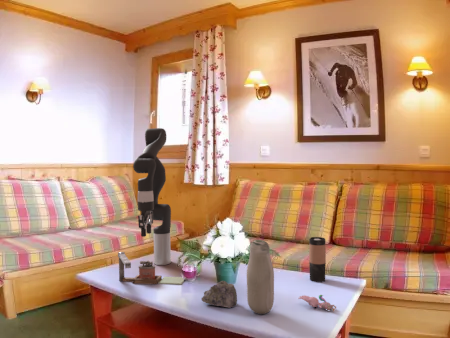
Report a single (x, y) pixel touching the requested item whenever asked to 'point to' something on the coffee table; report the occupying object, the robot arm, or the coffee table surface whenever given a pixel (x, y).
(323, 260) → the travel mug
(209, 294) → the mineral rock
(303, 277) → the coffee table surface
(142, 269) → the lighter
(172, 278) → the pad
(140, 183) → the robot arm
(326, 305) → the pink elongated figure
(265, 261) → the brown clay vase
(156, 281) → the dock
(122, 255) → the grey bar
